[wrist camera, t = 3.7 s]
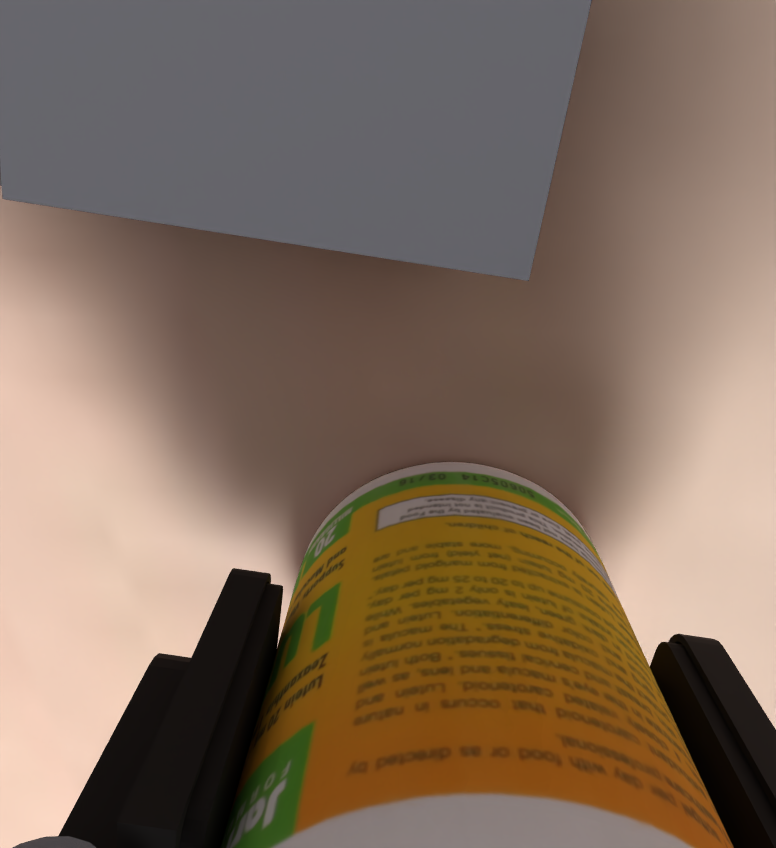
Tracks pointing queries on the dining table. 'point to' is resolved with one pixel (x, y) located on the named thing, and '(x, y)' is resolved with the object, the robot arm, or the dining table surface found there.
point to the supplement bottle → (463, 686)
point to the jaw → (297, 119)
